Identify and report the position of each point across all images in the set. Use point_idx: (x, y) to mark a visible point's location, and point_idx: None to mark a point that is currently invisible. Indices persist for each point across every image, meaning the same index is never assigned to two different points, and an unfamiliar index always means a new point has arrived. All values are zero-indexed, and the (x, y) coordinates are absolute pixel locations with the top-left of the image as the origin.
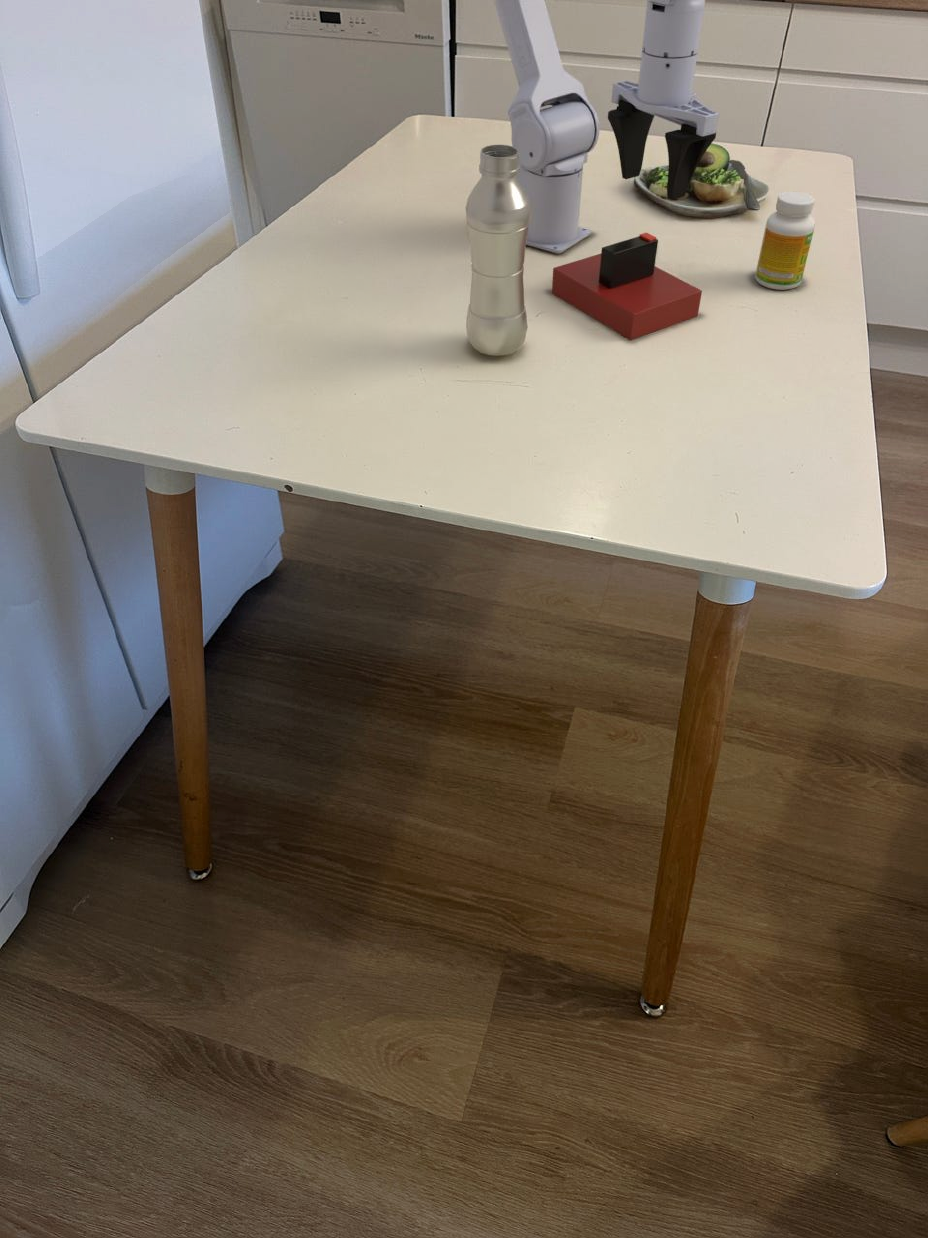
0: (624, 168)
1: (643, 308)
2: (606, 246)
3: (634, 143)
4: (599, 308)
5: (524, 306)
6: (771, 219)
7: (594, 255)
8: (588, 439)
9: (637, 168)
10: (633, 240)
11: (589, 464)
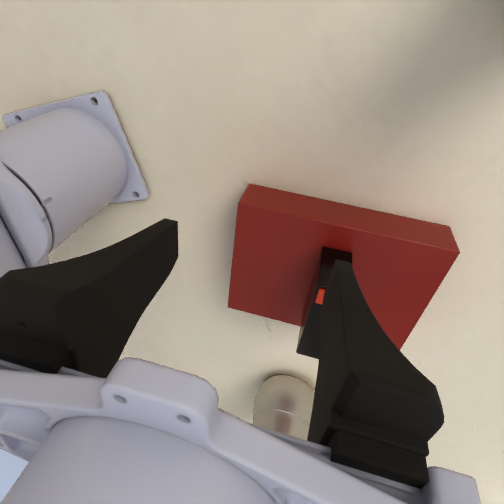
0: (166, 278)
1: (402, 336)
2: (299, 348)
3: (135, 294)
4: None
5: (302, 418)
6: None
7: (234, 249)
8: (457, 448)
9: (169, 239)
10: (318, 316)
11: (476, 466)
